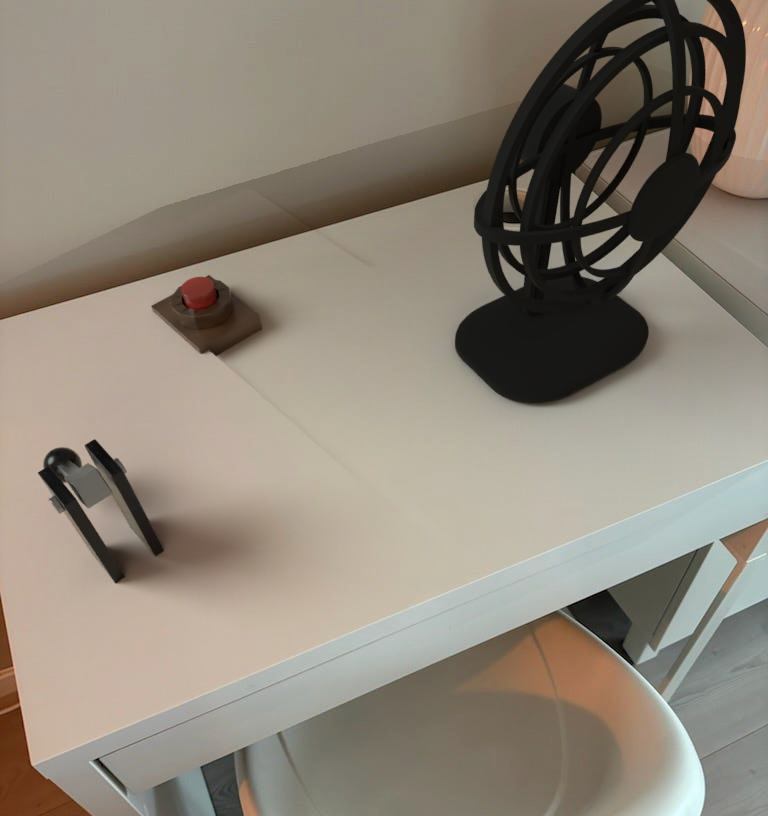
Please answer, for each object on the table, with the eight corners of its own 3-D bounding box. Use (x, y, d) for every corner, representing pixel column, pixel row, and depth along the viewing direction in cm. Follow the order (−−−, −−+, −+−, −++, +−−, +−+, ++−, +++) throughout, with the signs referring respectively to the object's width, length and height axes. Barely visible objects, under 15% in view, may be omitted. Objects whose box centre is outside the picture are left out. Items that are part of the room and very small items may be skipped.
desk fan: (503, 453, 73) (553, 73, 45) (405, 351, 82) (394, -18, 54) (704, 344, 81) (856, -40, 52) (594, 262, 90) (672, -103, 61)
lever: (53, 486, 68) (32, 456, 67) (84, 467, 70) (65, 438, 68) (85, 516, 58) (61, 483, 56) (122, 494, 59) (99, 460, 58)
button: (178, 299, 83) (174, 286, 82) (205, 285, 85) (202, 272, 83) (196, 314, 82) (192, 301, 80) (223, 299, 83) (220, 286, 82)
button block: (156, 321, 87) (145, 292, 84) (213, 289, 90) (205, 261, 87) (204, 363, 82) (194, 335, 79) (262, 329, 85) (256, 301, 82)
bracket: (57, 548, 69) (-9, 458, 59) (141, 494, 72) (93, 400, 62) (122, 634, 63) (63, 553, 53) (211, 572, 67) (171, 483, 56)
